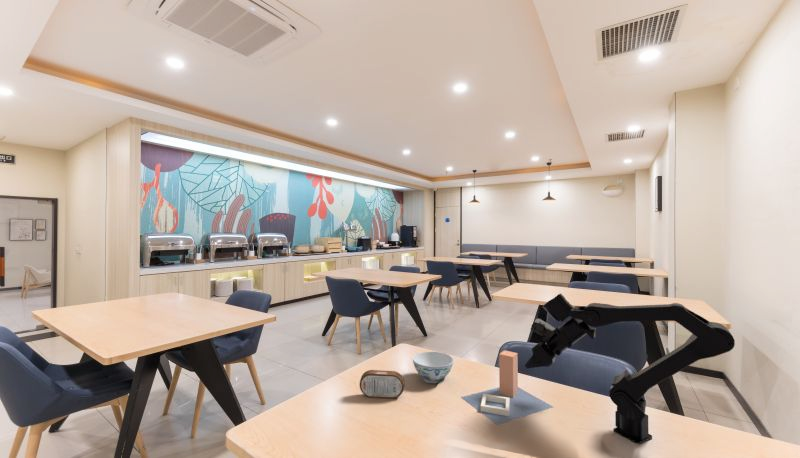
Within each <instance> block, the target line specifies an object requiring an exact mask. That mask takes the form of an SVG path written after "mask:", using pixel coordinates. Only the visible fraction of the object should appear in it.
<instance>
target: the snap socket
mask: <svg viewBox="0 0 800 458" xmlns="http://www.w3.org/2000/svg"><path fill="white" fill-rule="evenodd" d="M486 401H492V402H498V403H504V404H506V408H501V407H495V406H489V405H486ZM509 407H510V398H508V397H502V396H496V395H489V394H483V398H482V402H481V411H482V412H488V413H494V414H499V415H505V416H509Z"/></svg>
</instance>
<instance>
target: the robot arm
mask: <svg viewBox="0 0 800 458" xmlns="http://www.w3.org/2000/svg"><path fill="white" fill-rule="evenodd" d="M542 308H543V309H544V310H545V311H546V312H547V313H548V314H549V316H550V317H551V318H552V319H553V320H554V322H561V323H562V325H560V326H556V328H555V327H554V326H552V325H551V324H549V323H547V322H546V321H544V320H543V319H541V318H535V320H534V321H533V323H532V324H531V327H530V330H531V331H532V332H533V333H536V334H538V335H539V336H541V337H543V338H542V340H543V342H541V341H539V342H538V343H537V344H535V345H534V346H533V347H532V348H531V352H532V356H531V357H530V358H529V359H528V360H527V362H526V363H525V364H524V367H525V368H526V369H533V368H534V369H535V368H542V367H543V368H544V367H545V368H546V367H547V368H549V367H550V366H552V365H553V364H554V363H555V361H556V356H560V355H562V353H563V352H564V351H566V350H567V349H570V348H571V347H572V346H573V345H574V344H575V343H577V342H578V341H579V340H580V339H582V338H583V337H585V336H586V335H587V336H588V337H589V338H590V339H591V340H594V339H595V338H596V336H597V335H596V330H597V328H596V327H602V326H603V327H604V326H609V325H612V324H616V323H621V322H623V323H624V322H670V321H671V322H675V323H678V324H679V325H680V326H682V327H683V328H684V329H685V330H687V331H688V332H689V333H691V335H690V336H689V337H688V339H687V340H686V341H685V342H684V343H683V344H681V345H680V346H678V347H677V348H675V349H674V350H672V351H670V352H668V353H667V354H666V355H664V356H662V357H660V358H659V359H657V360H656V361H654V362H652V363H651V364H649V365H648V366H646V367H644V368H642V369H641V370H640V371H638V372H634V373H629V371H628V370H627V369H625V370H623V372H622V373H620V374H619V375H615V376H613V380H612V382H611V386H610V389H609V391H608V392H609V398H610V400H611V401H612V403H613V404H615V405H616V410H615V412H614V413H615V414H614V415H615V416H614V417H615V418H614V419H615V421H614V422H615V423H614V424H615V427H614V428H613V432H614V433H616V434H618V435H621V436H622V437H624V438H626V439H628V440H629V441H631V442H634V443H636V444H637V445H639V444H642V443H644V442H646V441H649V440H651V439H653V435H652V434H650V433H649V414H646V407H647V400H646V399H645V398H644V396H645V394H646V393H647V392H648V391H649V390H650V389H651V388H653V387H655V386H656V385H659V384H660V383H662V382H664V381H666V380H667V379H668V378H670V377H672V376H674V375H676V374H677V373H679V372H680V371H683V370H684V369H686V368H687V367H689V366H691V365H693V364H695V363H696V362H698V361H699V360H705V359H709V358H714V357H717V356H721V355H723V354H726V353H729V352H731V351H732V350H733V349H734V347H735V338H734V336H733V335H732V333H731V332H730V330H729V329H728V328H727V327H726V326H725V325H723V324H721V323H718V322H713V321H709V320H708V319H706V318H705V317H703V316H701V315H699V314H697V313H695V312H694V311H692V310H690V309H688V308H687V307H685V305H684V304H681V303H678V302H673V303H669V304H666V303H665V304H647V305H646V304H643V305H642V304H641V305H626V306H625V305H622V306H621V305H612V304H608V303H601V302H600V303H599V302H591V303H589V304H587V305H586V306H585V305H575V306H573V305H572V303H570V302H569V301H568V300H567V299H566V298H565V296H564V295H563V294H562V293H558V294H557V295H556V296H555V297H553V298H552V299H549V300H548V301H547V302H546V303H544V304H543V306H542ZM569 317H570V318H569ZM568 318H569V319H568ZM567 319H568V320H567ZM565 320H566V322H564V321H565ZM563 322H564V323H563Z"/></svg>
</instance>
